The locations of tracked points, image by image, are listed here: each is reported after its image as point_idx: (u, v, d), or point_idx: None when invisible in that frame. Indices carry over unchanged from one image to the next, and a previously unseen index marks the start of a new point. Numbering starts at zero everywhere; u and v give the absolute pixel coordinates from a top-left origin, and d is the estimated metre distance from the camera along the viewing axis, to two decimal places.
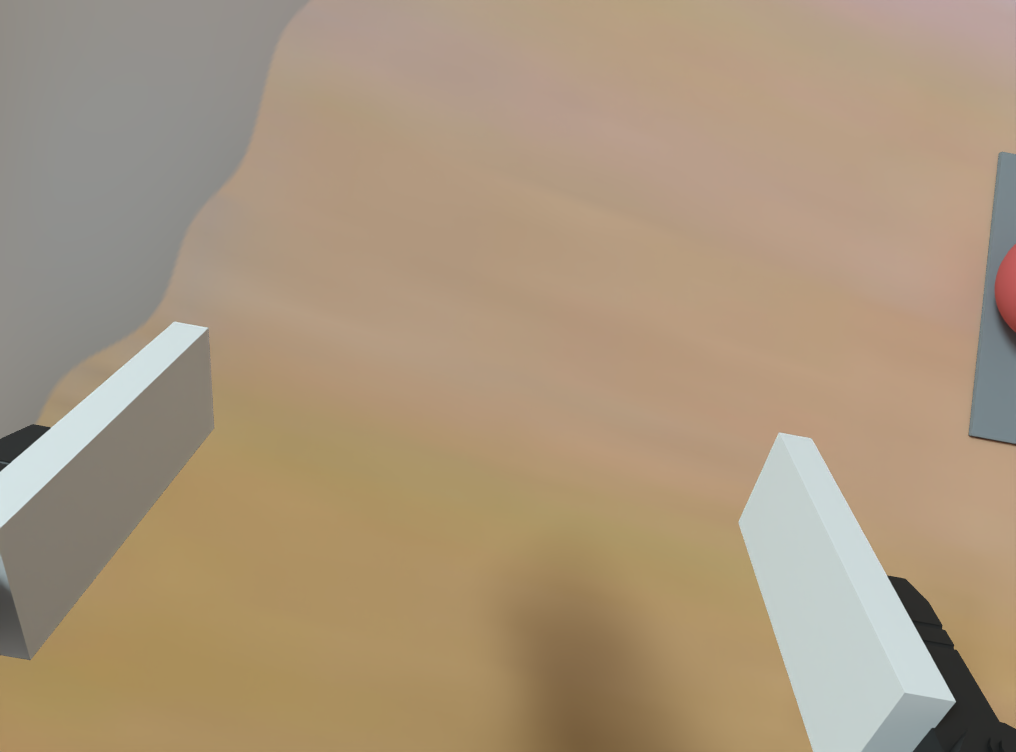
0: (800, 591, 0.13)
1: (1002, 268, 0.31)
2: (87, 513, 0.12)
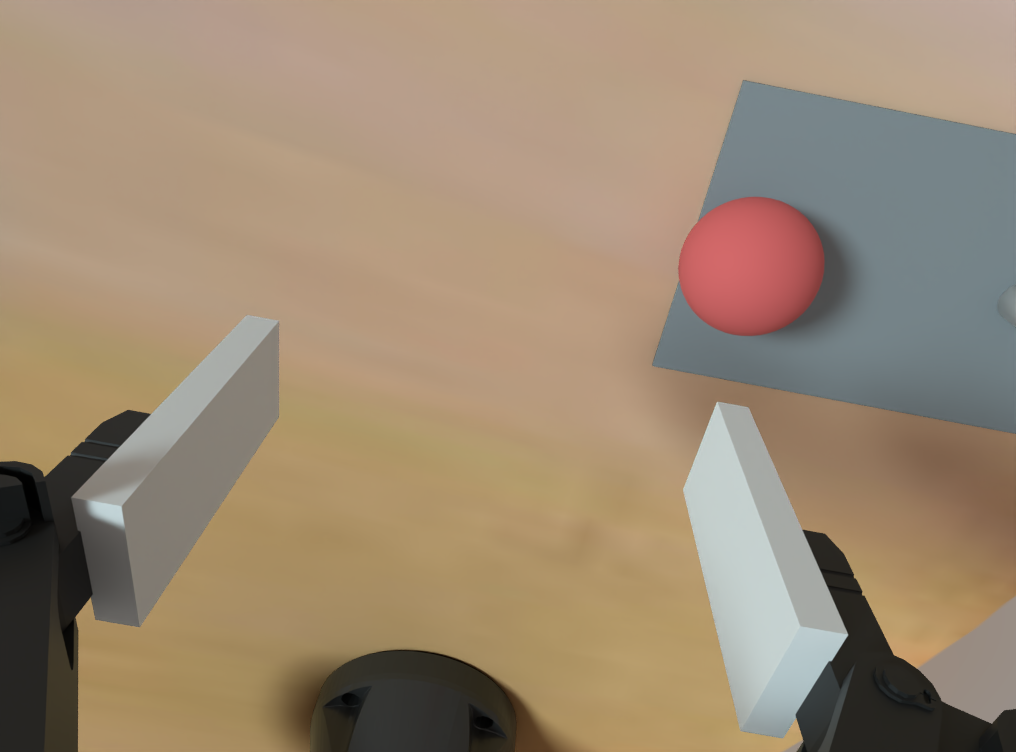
0: (727, 546, 0.14)
1: (685, 240, 0.30)
2: (185, 492, 0.12)
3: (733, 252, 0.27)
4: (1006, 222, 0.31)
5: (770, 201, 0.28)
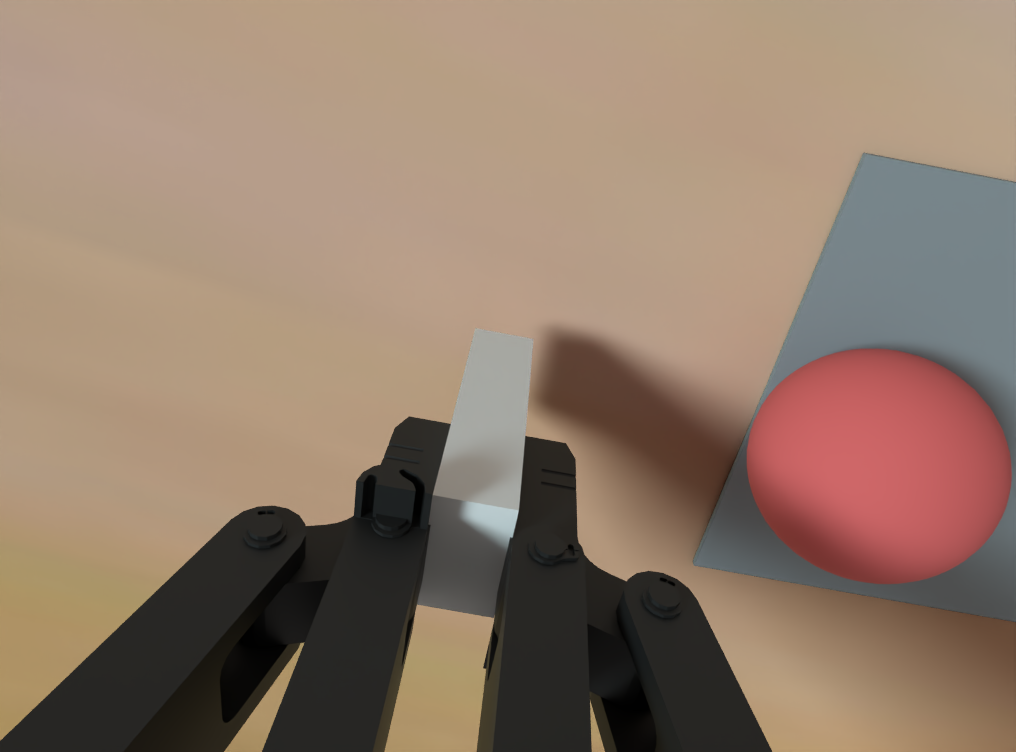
0: None
1: (759, 414, 0.18)
2: None
3: (860, 469, 0.15)
4: None
5: (918, 368, 0.16)
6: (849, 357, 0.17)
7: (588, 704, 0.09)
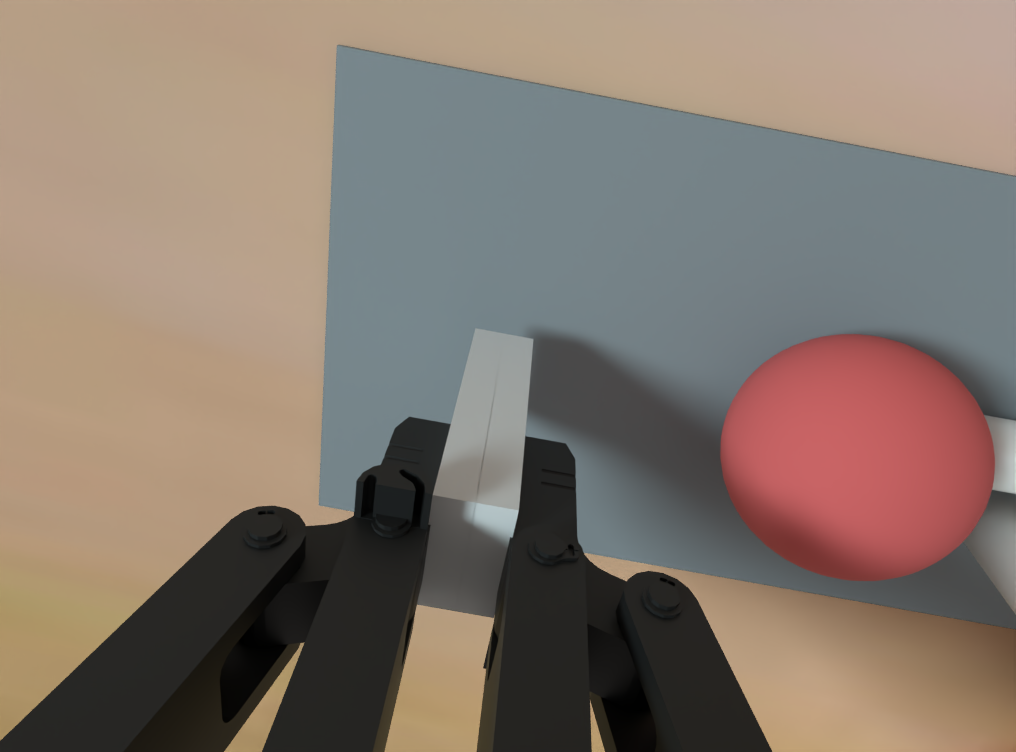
0: None
1: None
2: None
3: None
4: (840, 293, 0.18)
5: (902, 347, 0.16)
6: (962, 383, 0.15)
7: (588, 705, 0.09)
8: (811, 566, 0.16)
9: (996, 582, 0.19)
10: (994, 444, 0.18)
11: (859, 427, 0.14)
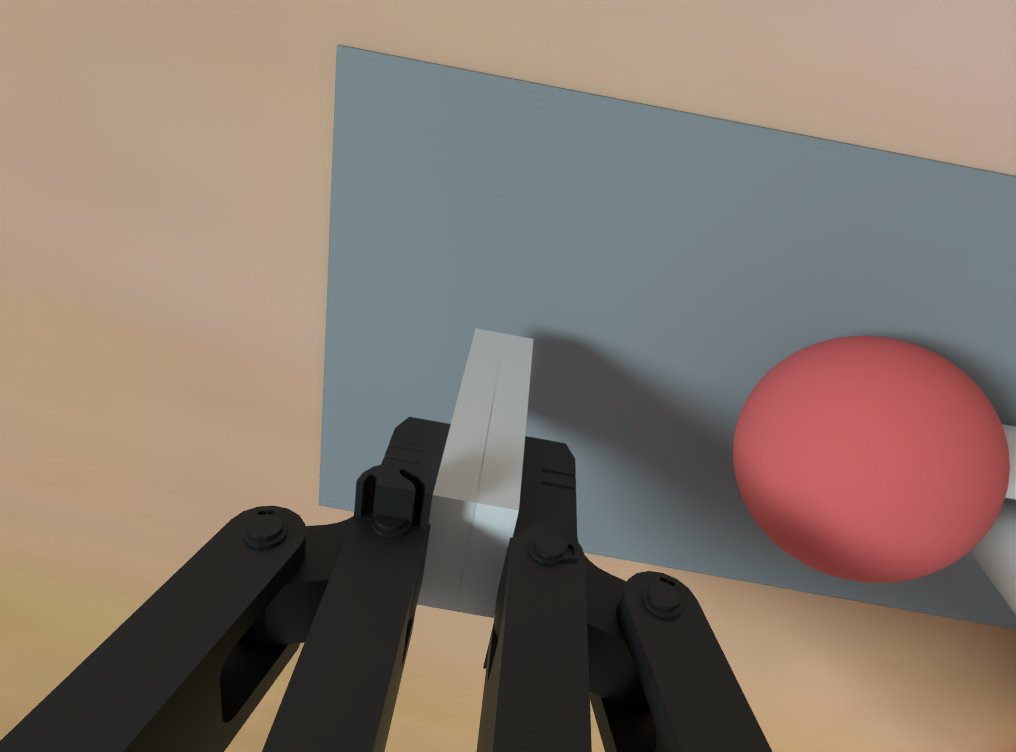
0: None
1: None
2: None
3: None
4: (840, 293, 0.18)
5: (915, 348, 0.16)
6: (973, 381, 0.16)
7: (588, 705, 0.09)
8: (836, 572, 0.16)
9: (996, 582, 0.19)
10: None
11: (887, 434, 0.14)
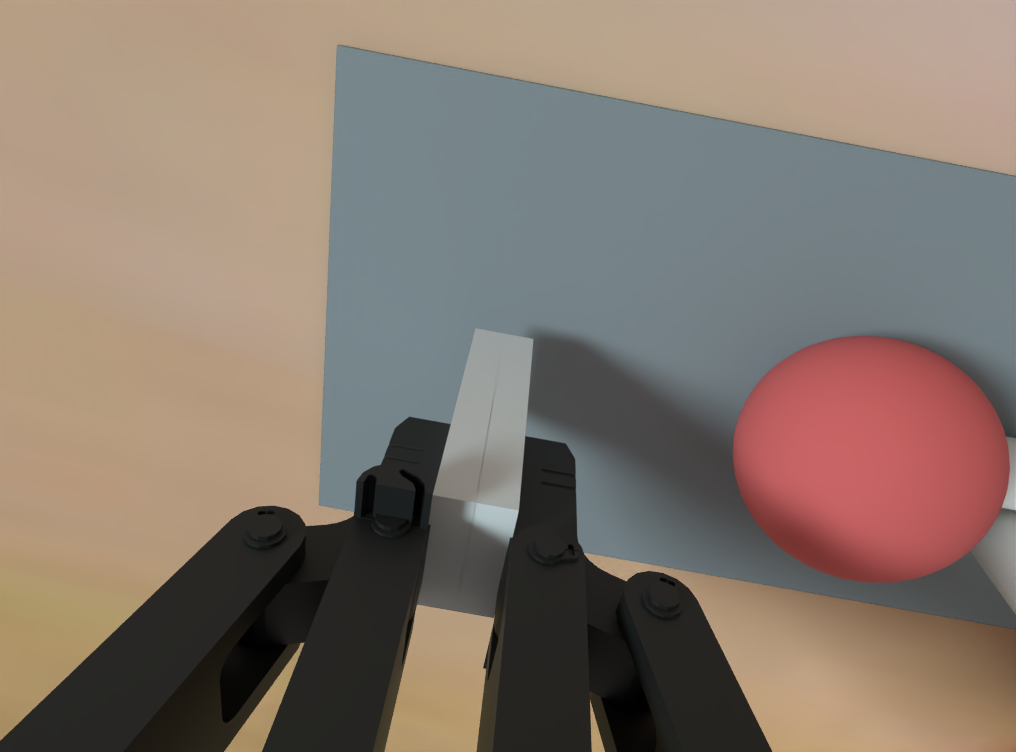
0: None
1: None
2: None
3: None
4: (840, 293, 0.18)
5: (915, 348, 0.16)
6: (973, 381, 0.16)
7: (588, 705, 0.09)
8: (836, 572, 0.16)
9: (996, 582, 0.19)
10: None
11: (887, 434, 0.14)
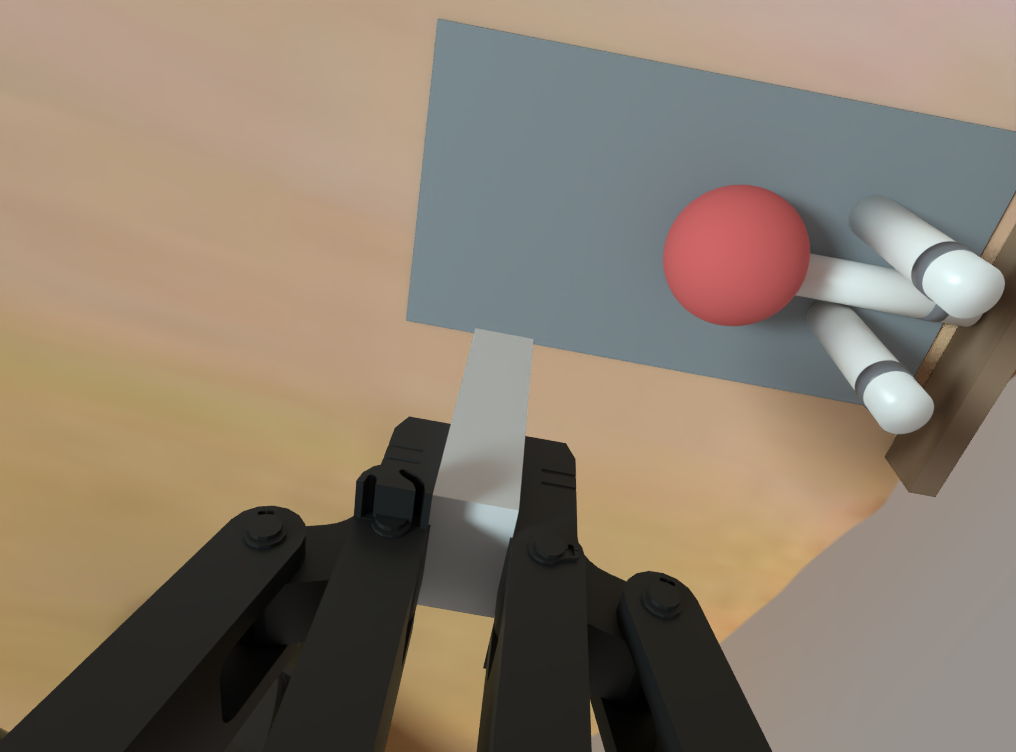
0: None
1: None
2: None
3: None
4: (726, 166, 0.30)
5: (759, 187, 0.28)
6: (791, 205, 0.28)
7: (588, 704, 0.09)
8: (716, 313, 0.28)
9: (824, 344, 0.31)
10: (811, 277, 0.31)
11: (735, 224, 0.27)
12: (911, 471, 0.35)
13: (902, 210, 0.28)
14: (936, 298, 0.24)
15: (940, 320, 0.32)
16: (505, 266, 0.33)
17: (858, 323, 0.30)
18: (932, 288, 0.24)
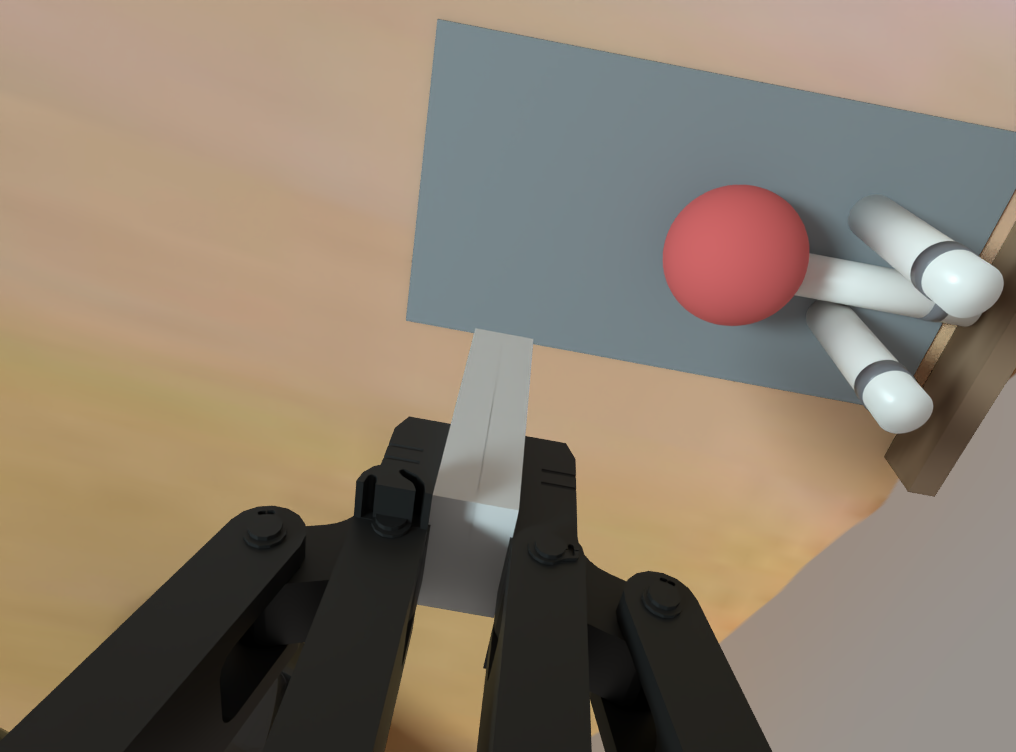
0: None
1: None
2: None
3: None
4: (725, 166, 0.30)
5: (758, 187, 0.28)
6: (790, 205, 0.28)
7: (587, 705, 0.09)
8: (716, 313, 0.28)
9: (823, 344, 0.31)
10: (810, 277, 0.31)
11: (735, 223, 0.27)
12: (910, 471, 0.35)
13: (901, 210, 0.28)
14: (935, 298, 0.24)
15: (939, 320, 0.32)
16: (505, 266, 0.33)
17: (857, 322, 0.30)
18: (931, 288, 0.24)
